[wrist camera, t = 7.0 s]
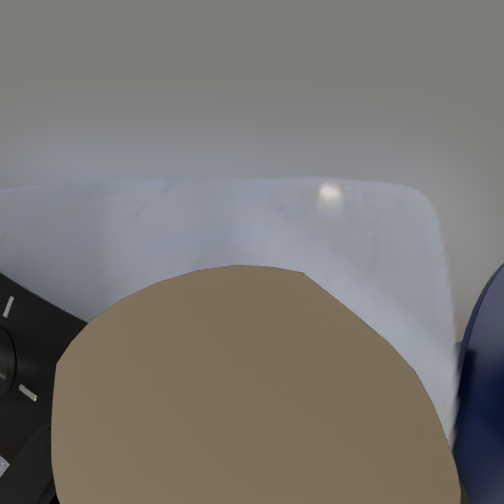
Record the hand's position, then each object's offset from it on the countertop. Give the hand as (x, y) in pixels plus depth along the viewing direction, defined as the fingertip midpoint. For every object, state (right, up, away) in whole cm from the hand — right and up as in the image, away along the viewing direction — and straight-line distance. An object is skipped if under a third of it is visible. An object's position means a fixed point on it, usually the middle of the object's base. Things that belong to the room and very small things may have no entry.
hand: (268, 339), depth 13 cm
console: (-17, -4, +4) cm, 18 cm away
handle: (0, -6, +3) cm, 7 cm away
